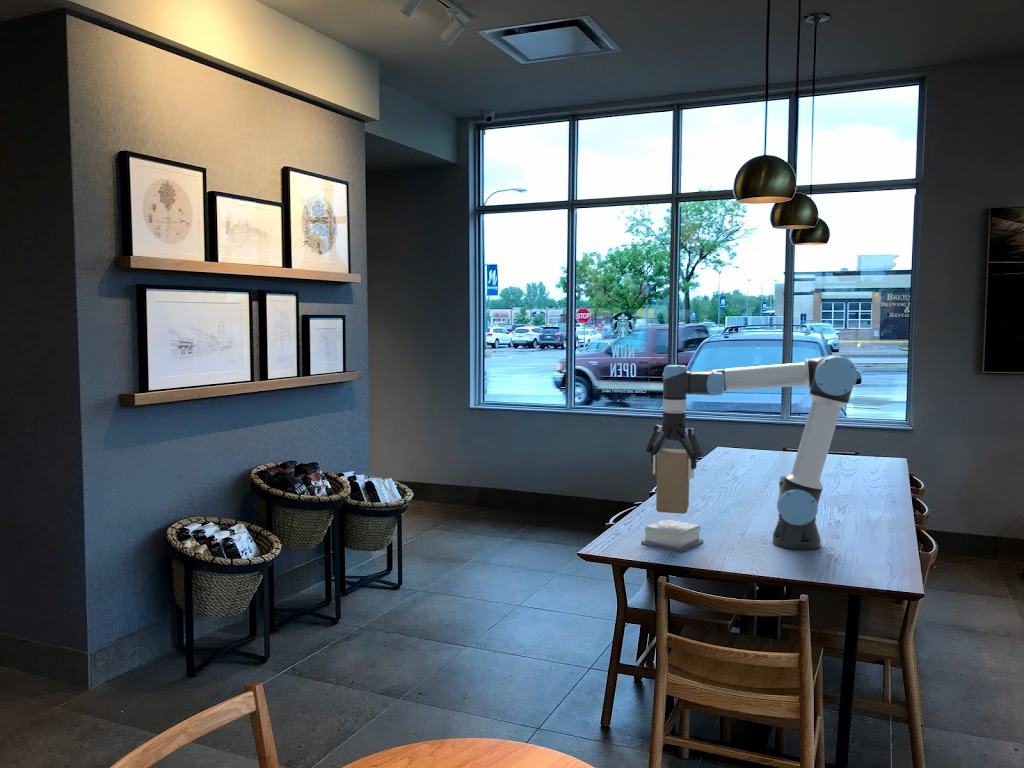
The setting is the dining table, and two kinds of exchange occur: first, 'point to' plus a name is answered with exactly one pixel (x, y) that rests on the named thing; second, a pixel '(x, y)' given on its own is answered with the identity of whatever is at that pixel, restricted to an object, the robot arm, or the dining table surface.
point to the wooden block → (672, 481)
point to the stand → (672, 535)
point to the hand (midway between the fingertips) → (673, 476)
